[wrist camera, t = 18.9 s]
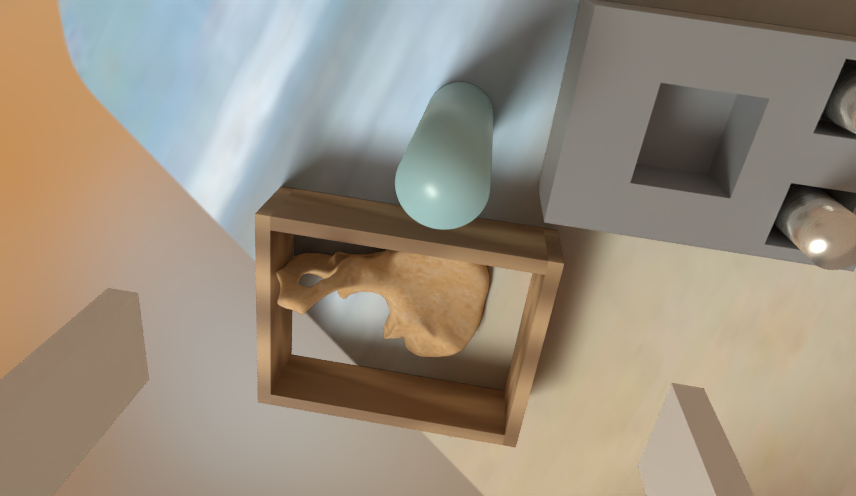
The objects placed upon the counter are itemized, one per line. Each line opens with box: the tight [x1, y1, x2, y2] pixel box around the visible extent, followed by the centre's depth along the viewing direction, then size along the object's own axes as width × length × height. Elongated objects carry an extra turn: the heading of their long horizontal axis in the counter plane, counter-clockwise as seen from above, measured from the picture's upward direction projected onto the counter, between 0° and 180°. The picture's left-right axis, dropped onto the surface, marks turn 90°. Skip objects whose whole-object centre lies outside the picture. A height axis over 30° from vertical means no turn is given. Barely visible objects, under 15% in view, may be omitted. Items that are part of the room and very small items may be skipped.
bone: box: [276, 249, 489, 357], centre depth 42 cm, size 10×10×15 cm
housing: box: [538, 0, 856, 271], centre depth 34 cm, size 12×18×6 cm, turn 83°
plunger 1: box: [774, 183, 856, 270], centre depth 32 cm, size 3×3×6 cm
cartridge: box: [395, 82, 493, 230], centre depth 32 cm, size 4×4×13 cm
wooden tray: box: [255, 187, 564, 447], centre depth 43 cm, size 16×20×5 cm
